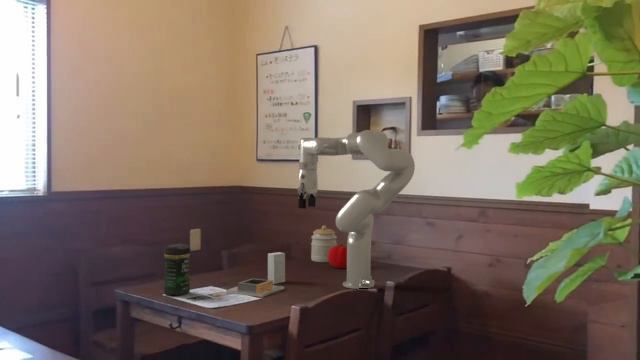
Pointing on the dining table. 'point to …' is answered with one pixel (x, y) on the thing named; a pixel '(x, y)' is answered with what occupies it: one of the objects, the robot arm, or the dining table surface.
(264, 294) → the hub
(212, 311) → the dining table surface
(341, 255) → the tomato
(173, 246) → the coffee jar
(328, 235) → the jar
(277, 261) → the skincare box
